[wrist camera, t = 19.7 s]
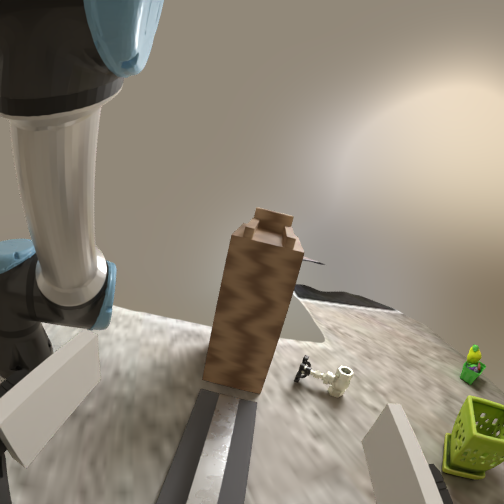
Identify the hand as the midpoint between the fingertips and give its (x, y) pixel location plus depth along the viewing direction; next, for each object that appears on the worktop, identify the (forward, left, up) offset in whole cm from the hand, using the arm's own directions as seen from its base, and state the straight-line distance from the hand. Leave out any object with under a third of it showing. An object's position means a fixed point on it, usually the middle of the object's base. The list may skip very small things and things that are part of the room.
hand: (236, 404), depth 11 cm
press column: (0, +44, -30) cm, 53 cm away
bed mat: (0, +18, -30) cm, 35 cm away
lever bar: (0, +16, -29) cm, 33 cm away
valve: (+19, +42, -30) cm, 55 cm away
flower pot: (+50, +17, -30) cm, 61 cm away
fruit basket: (+77, +53, -30) cm, 98 cm away
